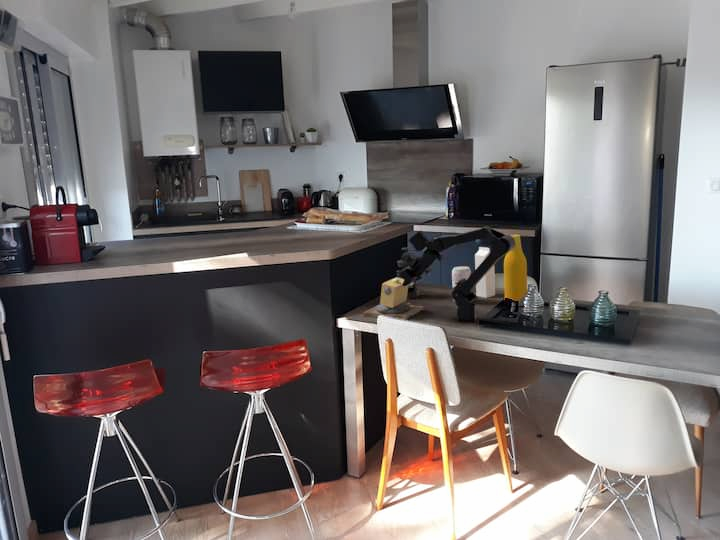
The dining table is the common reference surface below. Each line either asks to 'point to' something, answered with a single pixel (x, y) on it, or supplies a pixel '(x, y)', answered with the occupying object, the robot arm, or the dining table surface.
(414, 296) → the french press
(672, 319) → the dining table surface
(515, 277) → the yellow bottle
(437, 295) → the dining table surface
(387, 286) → the yellow boxy piece
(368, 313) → the level base
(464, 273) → the supplement can
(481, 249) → the milk
